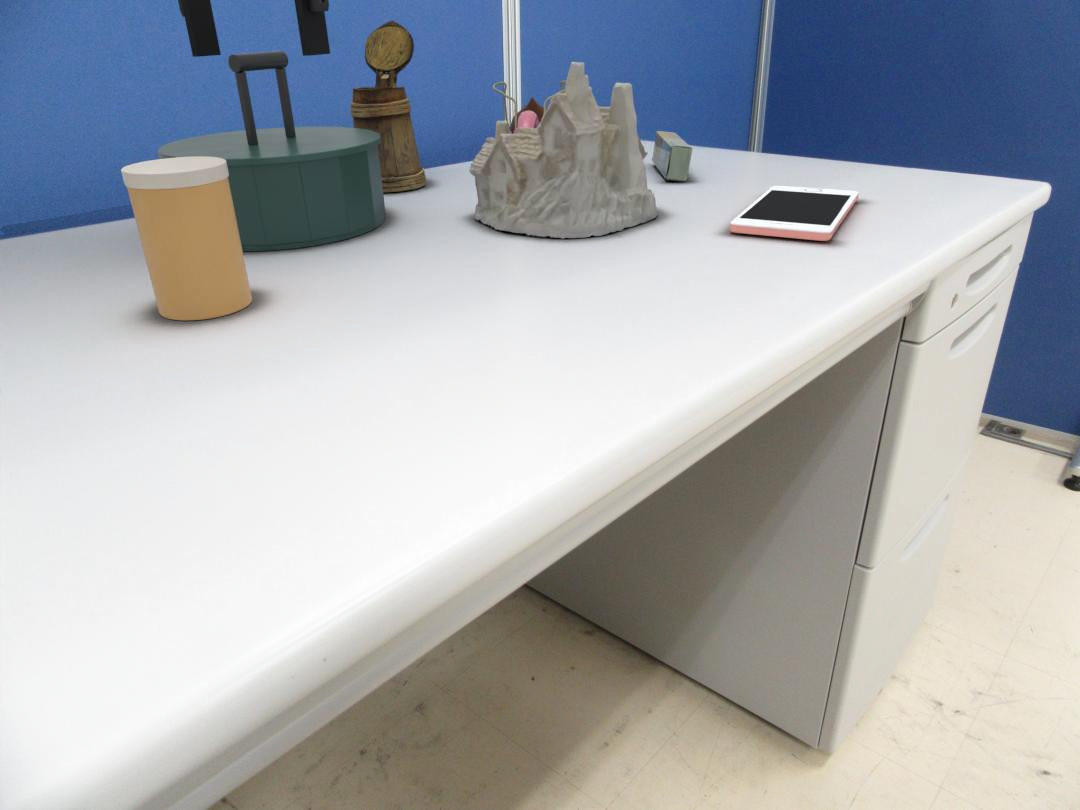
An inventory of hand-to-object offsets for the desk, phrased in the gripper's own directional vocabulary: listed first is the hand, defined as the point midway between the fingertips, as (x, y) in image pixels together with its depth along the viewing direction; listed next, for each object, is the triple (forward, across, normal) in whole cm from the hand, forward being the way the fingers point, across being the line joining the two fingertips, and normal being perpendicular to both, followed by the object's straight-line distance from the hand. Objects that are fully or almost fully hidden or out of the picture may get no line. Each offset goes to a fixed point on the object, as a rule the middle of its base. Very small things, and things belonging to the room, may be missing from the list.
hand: (259, 55), depth 72 cm
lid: (+8, 0, 0) cm, 8 cm away
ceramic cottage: (+16, -25, -13) cm, 32 cm away
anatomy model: (+16, -10, -34) cm, 39 cm away
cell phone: (+16, -46, -21) cm, 53 cm away
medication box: (+16, -27, -39) cm, 50 cm away
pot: (+16, 0, 0) cm, 16 cm away
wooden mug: (+16, +3, -22) cm, 27 cm away
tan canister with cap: (+16, -12, +21) cm, 29 cm away
